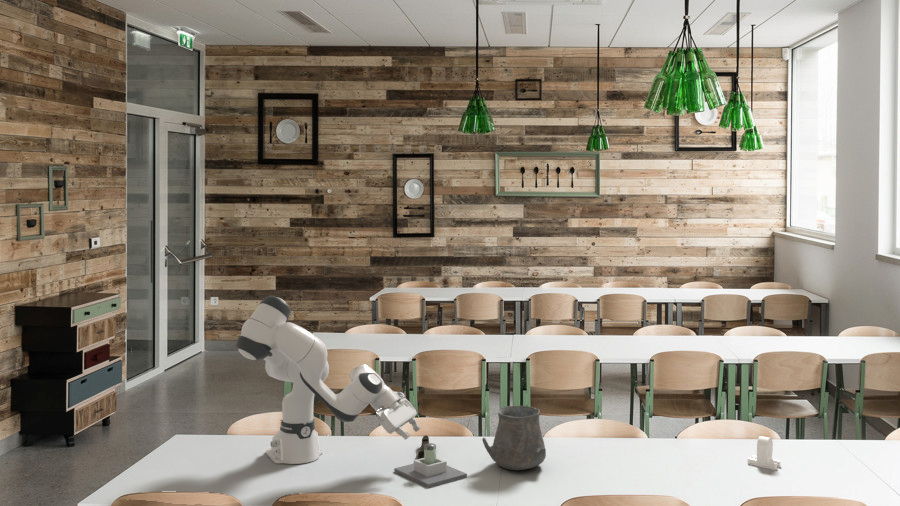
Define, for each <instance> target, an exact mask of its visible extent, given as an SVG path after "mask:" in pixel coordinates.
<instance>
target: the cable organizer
mask: <svg viewBox="0 0 900 506" xmlns="http://www.w3.org/2000/svg"><path fill="white" fill-rule="evenodd" d="M773 443H774V442H773V439H772V437H768V436H762V435H760V436H758V438H757V442H756V455H754V454H753V455H751V457H747V465H750V466H755V467H759V468H764V469H768V470H769V469H770V470H773V471H775V470H777V469H778V468H781V460H779V459H775V458H773V450H774V449H773V445H774V444H773Z"/></svg>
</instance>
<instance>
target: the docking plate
mask: <svg viewBox="0 0 900 506" xmlns="http://www.w3.org/2000/svg"><path fill="white" fill-rule="evenodd" d="M447 464H448V463H447V461H446V460H444V459H441V458H439V457H437V456H436V463H434V464H430V465H427V464H425V463H424V458H421V459H418V458H417V459H415V460H414V459H413V463H411V464H406V465H403V466H399V467H395V468H394V470H393V471H394V472H395V473H396V474H399V475H401V476H403V477H405V478H407V479H410V480H411V481H412V482H413V481H414V482H416V483H418V484H420V485H422V486H424V487H425V488H428V489H430V488H433V487H436V486H439V485H440V484H441V485H444V484H447V483H451V482H452V483H453V482H455V481H458V480H463V479H466V478H468V474H467V473H466V472H463V471H461V470H459V469H457V468H455V467H452V466H450V465H447ZM429 487H430V488H429Z"/></svg>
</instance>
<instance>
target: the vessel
mask: <svg viewBox="0 0 900 506" xmlns="http://www.w3.org/2000/svg"><path fill="white" fill-rule="evenodd" d="M540 412H541V410H540V409H539V408H536V407H533V406H528V405H507V406H502V407H499V408H498V409H497V415H498V424H497V428H496V432H495V435H494V438H493V443H492V445H491V446H490V445H489V443H488V441H487V439H486V438H485V437H482V439H481V440H482V443H483V446H484V448H485V449H486V452H487V454H488V455H489V456H490V459H492V461H493V462H494V463H496V464H497V465H498V466H500V467H502V468H504V469H506V470H510V471H524V470H529V469H533V468H536V467H538V466H539V465H541V464H543V462H544V461H545V459H546V457H547V452H546V451H547V450H546V445H545V441H544V437H543V434H542V429H541V425H540Z"/></svg>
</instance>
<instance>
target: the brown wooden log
mask: <svg viewBox="0 0 900 506" xmlns="http://www.w3.org/2000/svg"><path fill="white" fill-rule="evenodd" d="M428 443H430V438H429V436H428V435H427V434H426V435H423V436H422V438H421V445H420V449H419V452H418V454H417V457H418V458H417V459H421V458H424V445H425V444H428Z"/></svg>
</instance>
